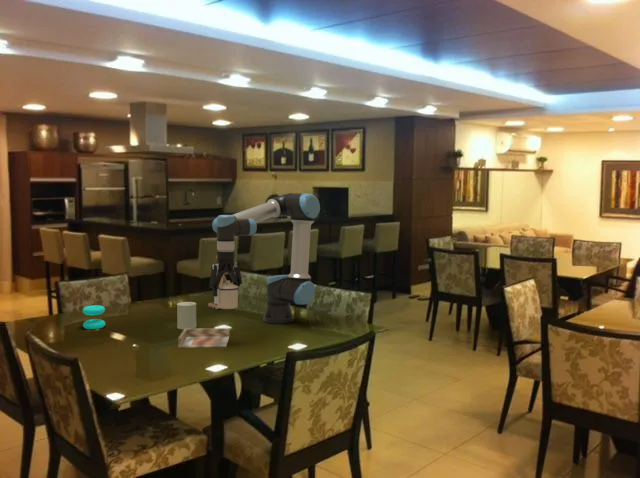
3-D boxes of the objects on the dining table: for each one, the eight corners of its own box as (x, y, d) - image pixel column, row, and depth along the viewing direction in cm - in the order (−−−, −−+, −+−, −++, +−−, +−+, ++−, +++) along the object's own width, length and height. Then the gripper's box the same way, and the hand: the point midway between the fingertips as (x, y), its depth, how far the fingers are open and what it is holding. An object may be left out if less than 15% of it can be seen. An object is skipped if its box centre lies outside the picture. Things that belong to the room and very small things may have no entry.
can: (192, 330, 286) (191, 305, 285) (173, 328, 288) (173, 304, 287) (199, 325, 295) (199, 301, 294) (182, 324, 297) (181, 300, 296)
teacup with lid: (242, 307, 263) (242, 280, 262) (225, 310, 256) (225, 283, 255) (225, 303, 271) (225, 277, 270) (209, 306, 264) (209, 279, 263)
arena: (229, 337, 274) (229, 328, 273) (226, 347, 257) (225, 337, 256) (184, 337, 272) (184, 328, 272) (178, 347, 256) (178, 338, 255)
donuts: (78, 306, 289) (98, 303, 296) (79, 327, 290) (99, 324, 297) (88, 310, 282) (108, 306, 289) (89, 331, 283) (109, 327, 290)
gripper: (240, 248, 272) (240, 297, 274) (199, 251, 256) (200, 304, 258) (250, 249, 267) (250, 300, 269) (210, 253, 251) (210, 306, 253)
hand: (225, 302), depth 263 cm, fingers closed on teacup with lid, 9 cm apart
